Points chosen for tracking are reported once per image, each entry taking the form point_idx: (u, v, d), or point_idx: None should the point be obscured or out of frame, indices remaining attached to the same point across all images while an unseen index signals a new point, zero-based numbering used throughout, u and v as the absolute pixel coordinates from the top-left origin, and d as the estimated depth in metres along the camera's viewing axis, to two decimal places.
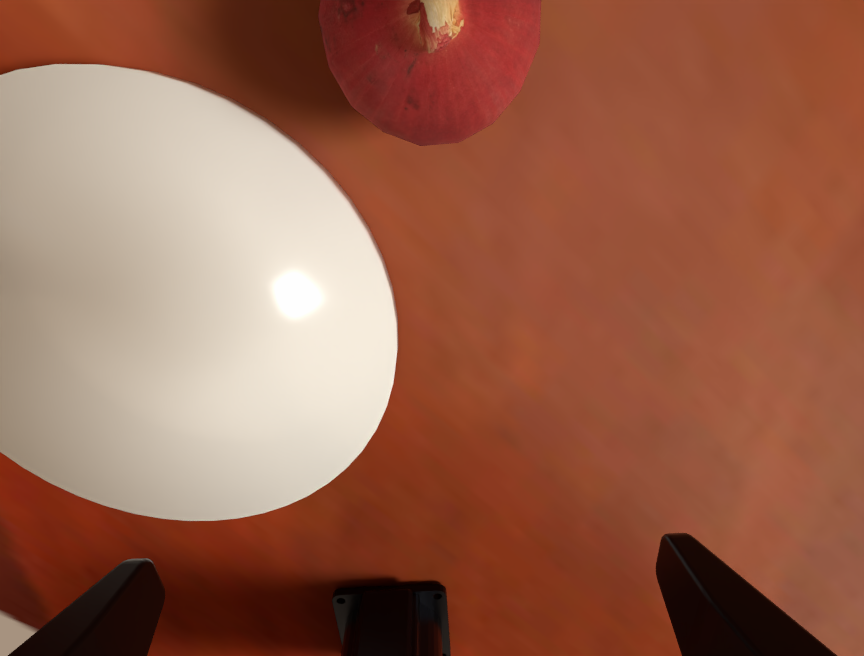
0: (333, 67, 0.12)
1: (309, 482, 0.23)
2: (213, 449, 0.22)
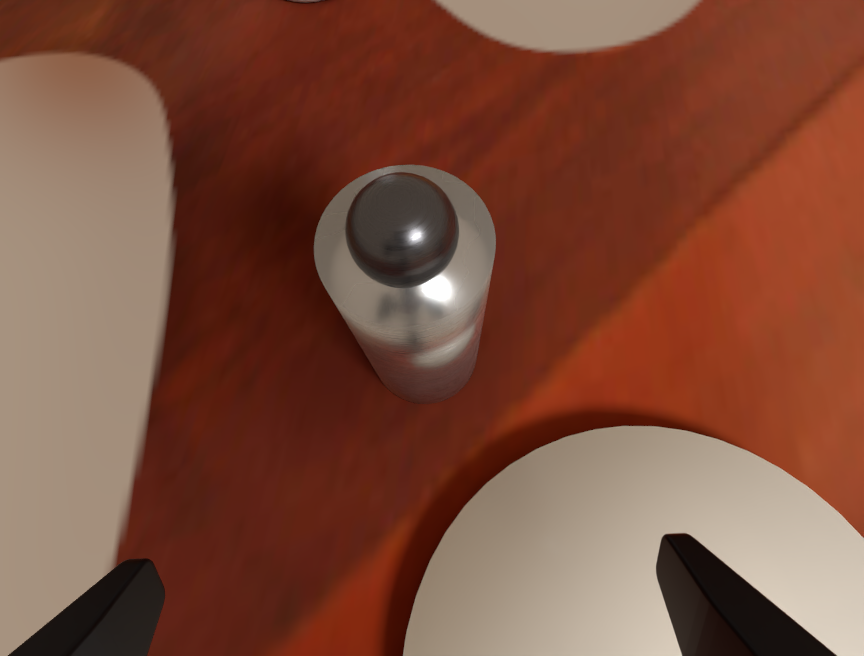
0: None
1: None
2: None
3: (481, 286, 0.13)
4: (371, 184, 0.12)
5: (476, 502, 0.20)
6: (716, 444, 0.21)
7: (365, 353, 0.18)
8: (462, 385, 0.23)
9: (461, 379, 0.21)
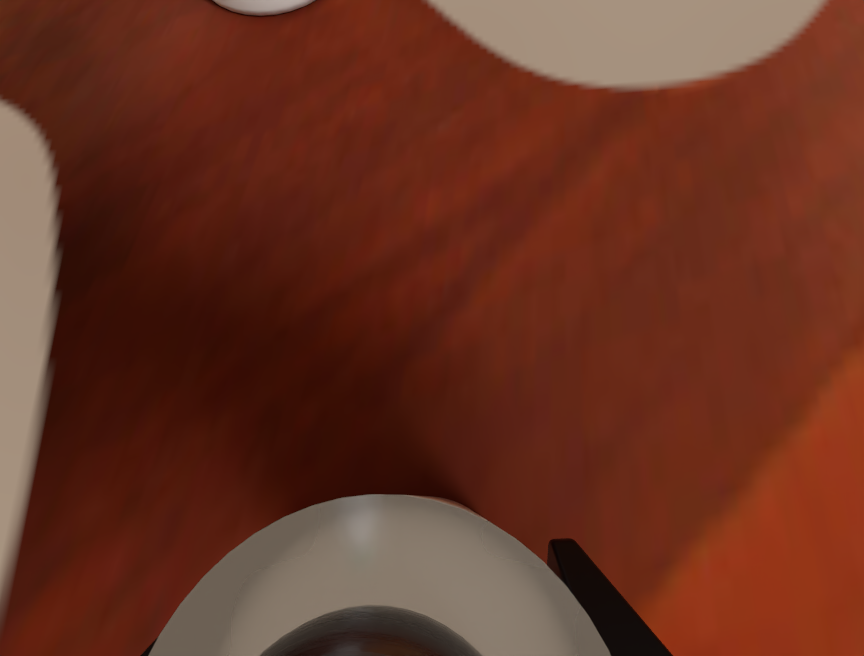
0: None
1: None
2: None
3: None
4: None
5: None
6: None
7: None
8: None
9: None
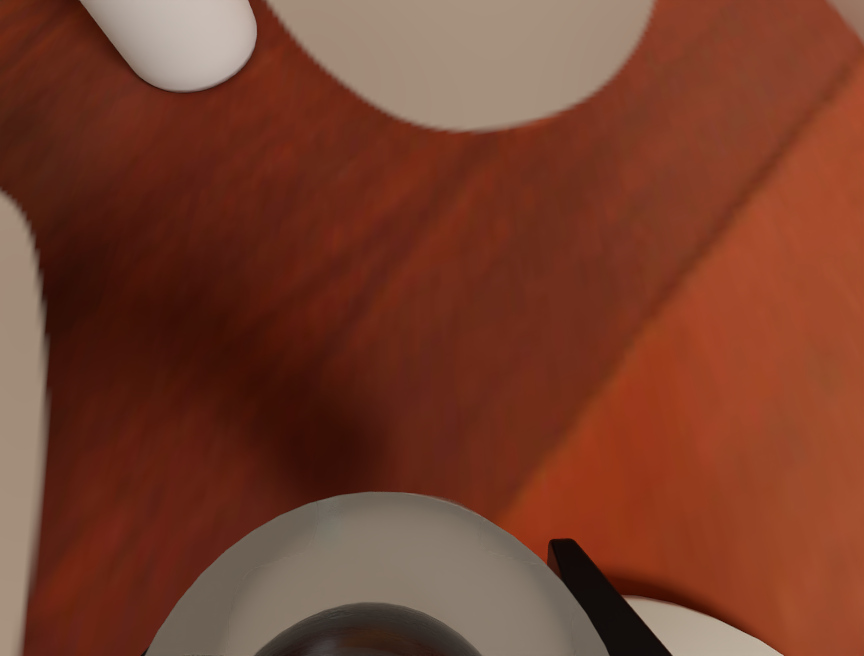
0: None
1: None
2: None
3: None
4: None
5: None
6: (685, 616, 0.18)
7: None
8: None
9: None
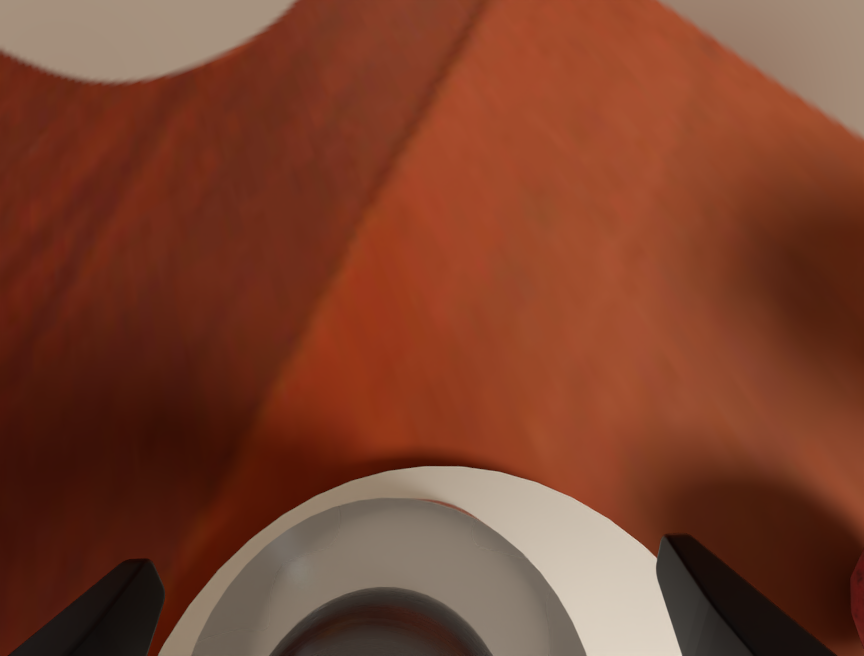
0: None
1: None
2: None
3: None
4: None
5: None
6: (424, 473, 0.17)
7: None
8: None
9: None
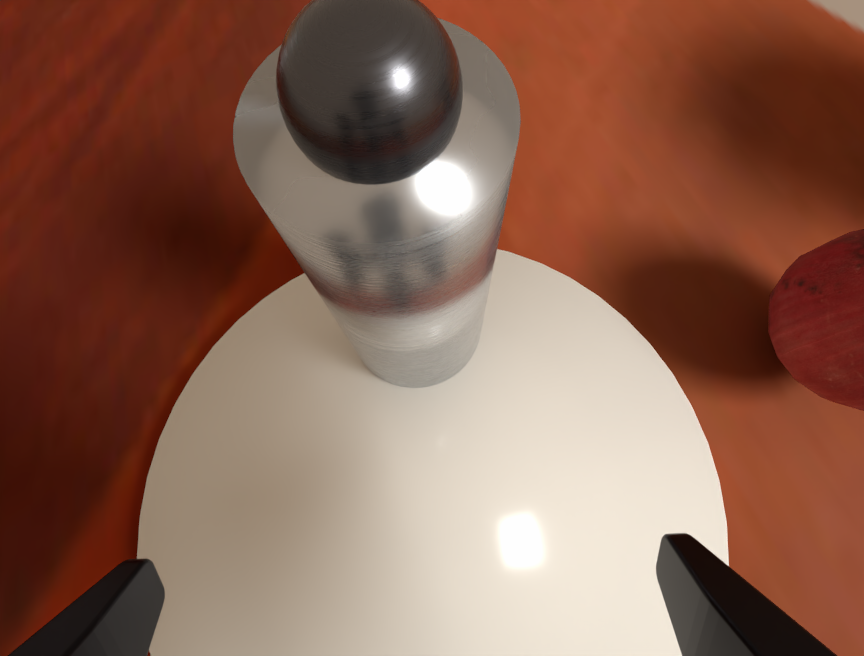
0: (819, 304, 0.15)
1: None
2: None
3: (498, 182, 0.08)
4: None
5: (185, 396, 0.18)
6: None
7: (332, 314, 0.13)
8: (463, 364, 0.18)
9: (462, 354, 0.16)
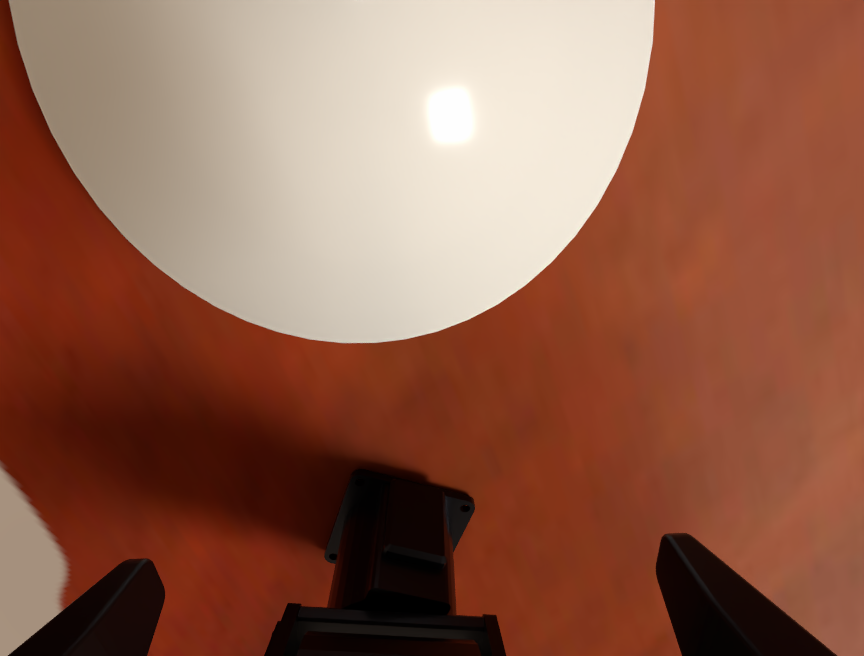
0: None
1: (416, 323, 0.20)
2: (330, 240, 0.18)
3: None
4: None
5: None
6: None
7: None
8: None
9: None
